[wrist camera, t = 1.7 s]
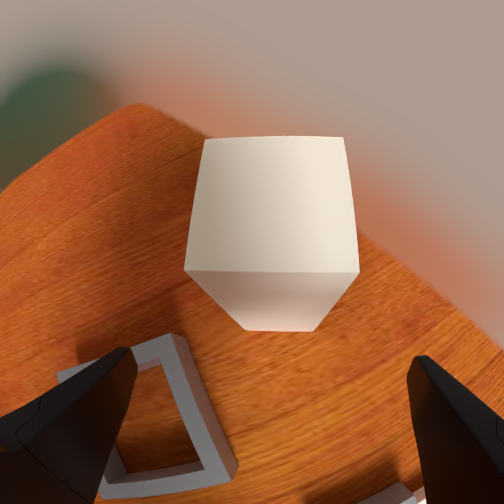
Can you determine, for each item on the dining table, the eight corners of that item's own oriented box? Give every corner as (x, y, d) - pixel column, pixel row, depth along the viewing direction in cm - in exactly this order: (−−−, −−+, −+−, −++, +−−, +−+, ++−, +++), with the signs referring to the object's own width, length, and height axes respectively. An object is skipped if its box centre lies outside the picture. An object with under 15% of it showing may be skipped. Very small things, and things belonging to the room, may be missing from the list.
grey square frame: (239, 466, 16) (231, 481, 13) (122, 487, 16) (102, 499, 13) (185, 337, 20) (170, 332, 17) (79, 374, 19) (56, 372, 17)
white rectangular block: (312, 331, 19) (359, 272, 7) (245, 330, 20) (183, 270, 8) (312, 267, 21) (343, 137, 9) (249, 266, 21) (204, 139, 9)
